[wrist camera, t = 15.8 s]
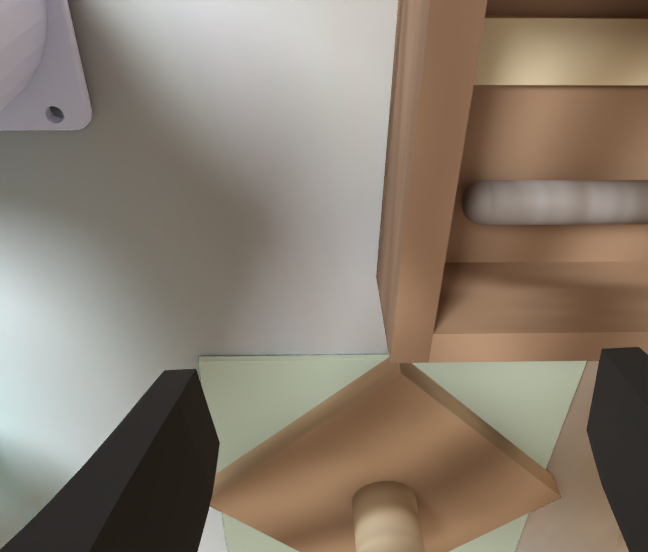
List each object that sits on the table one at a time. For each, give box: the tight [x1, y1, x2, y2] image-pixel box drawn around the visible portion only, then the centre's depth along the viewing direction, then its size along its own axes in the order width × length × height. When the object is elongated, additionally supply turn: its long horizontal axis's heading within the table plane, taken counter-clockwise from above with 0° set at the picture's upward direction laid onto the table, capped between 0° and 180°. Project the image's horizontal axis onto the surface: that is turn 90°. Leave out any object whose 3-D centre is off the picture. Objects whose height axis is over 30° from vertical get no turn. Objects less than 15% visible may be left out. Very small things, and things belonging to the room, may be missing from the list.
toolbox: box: [376, 0, 648, 363], centre depth 17 cm, size 12×12×4 cm
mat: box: [198, 354, 587, 552], centre depth 30 cm, size 16×16×1 cm
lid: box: [210, 357, 561, 552], centre depth 28 cm, size 12×12×4 cm
